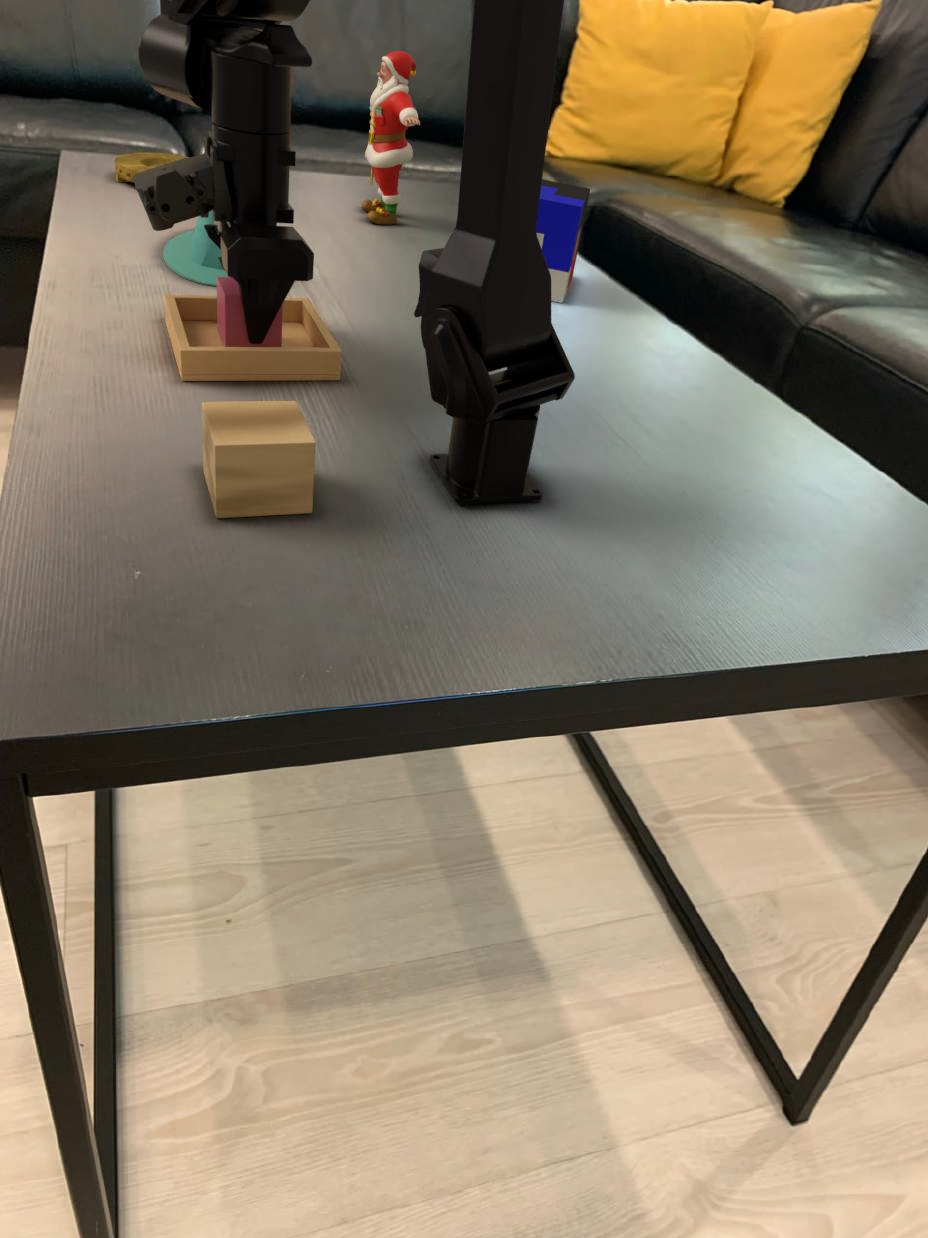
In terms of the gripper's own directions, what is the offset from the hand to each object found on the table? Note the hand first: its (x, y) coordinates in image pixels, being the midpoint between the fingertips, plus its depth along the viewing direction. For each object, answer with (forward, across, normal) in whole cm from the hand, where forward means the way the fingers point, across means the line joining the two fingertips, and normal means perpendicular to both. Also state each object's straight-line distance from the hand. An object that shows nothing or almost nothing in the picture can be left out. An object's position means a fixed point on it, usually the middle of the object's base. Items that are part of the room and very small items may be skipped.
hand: (250, 331), depth 79 cm
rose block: (+1, 0, 0) cm, 1 cm away
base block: (+2, +24, -4) cm, 24 cm away
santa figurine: (+2, -45, +24) cm, 51 cm away
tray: (+2, 0, 0) cm, 2 cm away
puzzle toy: (+2, -21, +34) cm, 40 cm away
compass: (+2, -56, -2) cm, 56 cm away
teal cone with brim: (+2, -26, +2) cm, 26 cm away
